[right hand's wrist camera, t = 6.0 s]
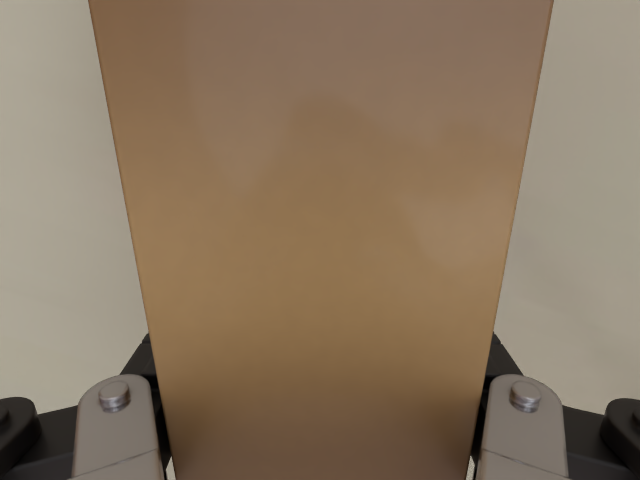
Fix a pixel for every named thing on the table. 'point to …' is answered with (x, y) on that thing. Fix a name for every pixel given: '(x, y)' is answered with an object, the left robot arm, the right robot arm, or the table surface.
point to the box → (320, 221)
